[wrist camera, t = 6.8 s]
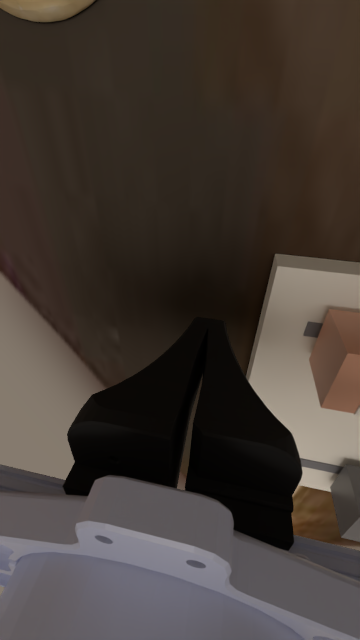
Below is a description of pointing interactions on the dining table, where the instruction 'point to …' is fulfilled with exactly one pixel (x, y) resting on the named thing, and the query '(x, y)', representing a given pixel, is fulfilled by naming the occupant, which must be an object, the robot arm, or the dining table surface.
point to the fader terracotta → (338, 362)
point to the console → (305, 361)
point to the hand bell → (44, 9)
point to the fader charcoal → (347, 501)
